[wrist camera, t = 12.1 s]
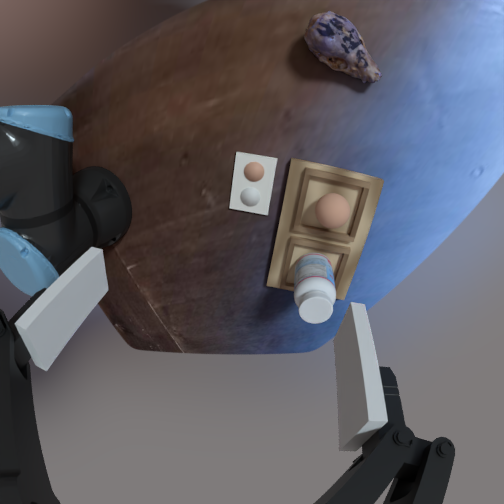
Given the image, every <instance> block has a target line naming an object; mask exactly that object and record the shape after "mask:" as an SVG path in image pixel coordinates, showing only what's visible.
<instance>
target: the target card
mask: <svg viewBox="0 0 504 504" xmlns="http://www.w3.org/2000/svg"><path fill="white" fill-rule="evenodd" d="M276 163H277V158H272V157H266V156H260V155H254V154H248V153H242V152H236V159H235V166H234V174H233V182H232V191H231V199H230V207H229V208H230V209H236V210H241V211H247V212H252V213H258V214H263V215H268V210H269V204H270V198H271V192H272V187H273V181H274V175H275V169H276Z"/></svg>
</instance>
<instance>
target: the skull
mask: <svg viewBox="0 0 504 504" xmlns="http://www.w3.org/2000/svg"><path fill="white" fill-rule="evenodd" d="M304 38H305V40H306V43H307V44H308V46H309V50H310V51H311V52H313V53H314V56H315V57H317V58H318V59H319V61H320V62H323V63H325V64H326V65H328V66H329V67H330V68H331V69H332V70H335V71H342V72H345V73H346V74H348V75H351V76H352V77H354V78H360V79H362V81H363V83H365V82H366V81H369V82H370V83H374V82H375V81H379V80H380V78H381V76H382V73H381V72H380V71H379V69H378V66H377V65H376V63H375V62H374V61H373V60H372V58H371V56H370V55H369V53H368V52H367V50H366V48H365V43H364V40H363V39H362V37H361V35H360V34H359V33H358V31H357V29H356V27H355V26H354V25H353V24H352V23H351V22H350V21H349V20H348V19H346V18H345V17H342V16H339V15H337V14H335V13H333V12H330V11H328V12H326V13H321V14H317V15H314V16H313V17H312V18H311V20H310V22H309V25H308V29H306V33H305V35H304ZM360 41H361V42H360ZM335 57H336V58H335ZM329 58H331V60H332V61H330V60H329Z"/></svg>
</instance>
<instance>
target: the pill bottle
mask: <svg viewBox="0 0 504 504" xmlns="http://www.w3.org/2000/svg"><path fill="white" fill-rule="evenodd" d="M335 299H336V289H335V282H334V276H333V270H332V264H331V262H330V260H329V259H328V258H327V257H326V256H325V255H323V254H320V253H308V254H305V255H303V256H301V257H300V258H299V259H298V261H297V263H296V265H295V279H294V300H295V303H296V305H297V306H298V307H299V314H300V316H301V318H302V319H303V320H305V321H306V322H309V323H321V322H324V321H326V320H327V319H329V318H330V316H331V315H332V312H333V304H334V302H335Z"/></svg>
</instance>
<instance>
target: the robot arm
mask: <svg viewBox="0 0 504 504" xmlns="http://www.w3.org/2000/svg"><path fill="white" fill-rule="evenodd" d="M73 142H74V138H73V117H72V114H71V112H70V110H69V109H67V108H65V107H62V106H50V105H49V106H48V105H19V106H6V107H0V218H1V224H2V227H1V228H0V268H1V270H2V272H3V273H4V274H5V276H6V277H7V278H8V279H9V280H10V282H11V283H12V284H14V285H15V286H16V287H17V288H18V289H19V290H21V291H22V292H24V293H26V294H28V295H30V296H32V297H31V298H30V300H28V301H27V302H26V304H25V305H24V306H23V307H22V308H21V309H20V310H19V311H18V312H17V313H16V314H15V315H14V316H13V317H12V318H11V319H10V321H9V322H8V321H7V318H6V316H5V314H4V312H3V311H2V310H1V309H0V504H60V502H59V500H58V499H57V498H56V496H55V495H54V493H53V491H52V488H51V485H50V481H49V478H48V474H47V470H46V467H45V463H44V458H43V454H42V450H41V445H40V440H39V436H38V430H37V424H36V418H35V411H34V404H33V395H32V386H31V373H30V365H29V362H28V361H29V359H30V358H32V360H33V361H34V363H35V365H36V366H38V367H40V368H42V369H43V370H46V371H47V370H48V368H49V367H50V366H51V364H52V363H53V361H54V360H55V358H56V357H57V356H58V354H59V353H60V352H61V350H62V349H63V347H64V346H65V345H66V343H67V342H68V341H69V339H70V338H71V337H72V335H73V334H74V333H75V331H76V330H77V329H78V327H79V326H80V325H81V324H82V322H83V321H84V319H85V318H86V317H87V316H88V315H89V313H90V312H91V311H92V310H93V308H94V307H95V306H96V304H97V303H98V302H99V301H100V300H101V298H102V297H103V296H104V295H105V293H106V292H107V291H108V284H107V278H106V271H105V264H104V257H103V249H100V248H103V247H106V246H109V245H112V244H114V243H115V242H117V241H118V240H119V239H120V238H121V237H122V236H123V235H124V234H125V233H126V232H127V230H128V228H129V226H130V223H131V218H132V207H131V201H130V198H129V195H128V192H127V190H126V188H125V187H124V185H123V184H122V182H121V181H120V180H119V179H118V177H117V176H115V175H114V174H113V173H112V172H110V171H109V170H107V169H104V168H102V167H96V166H93V167H87V168H85V169H83V170H80V171H78V172H77V173H75V174H74V175H73V176H72V155H73ZM334 352H335V365H336V379H337V397H338V423H339V451H357V450H358V449H359V448H360V447H361V446H362V453H363V454H361V455H360V456H359V457H358V458H357V459H355V460H354V461H353V464H352V465H351V466H350V468H349V469H348V470H347V471H346V472H345V473H344V474H343V475H342V477H340V478H339V479H338V481H337V482H336V483H335V484H334V485H333V486H332V487H331V488H330V489H329V490H328V491H327V492H326V493H325V494H324V495H322V496H321V498H319V499H318V500H317V501H316V502H315V503H314V504H374V503H375V502H376V500H377V499H378V498H379V497H380V495H381V494H382V493H383V491H384V490H385V489H386V488H387V486H388V485H389V483H390V482H391V481H392V479H393V478H394V480H393V482H392V485H391V487H390V490H389V492H388V494H387V496H386V498H385V501H384V503H383V504H442V503H443V499H444V496H445V493H446V489H447V486H448V482H449V478H450V474H451V470H452V466H453V461H454V456H455V448H454V445H453V443H452V442H451V441H450V440H449V439H447V438H445V437H439V438H436V439H435V440H434V441H433V442H430V441H427V440H423V439H420V438H417V437H415V436H414V433H413V432H412V431H411V430H410V429H409V428H408V427H406V425H405V421H404V415H403V410H402V405H401V400H400V396H399V390H398V388H397V387H398V385H397V381H396V377H395V375H394V373H393V372H392V370H391V369H390V367H379V366H378V361H377V356H376V351H375V346H374V342H373V337H372V333H371V328H370V324H369V320H368V316H367V312H366V308H365V304H360V303H354V302H351V303H350V305H349V307H348V310H347V312H346V314H345V316H344V319H343V321H342V323H341V325H340V327H339V330H338V332H337V334H336V336H335V338H334Z"/></svg>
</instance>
